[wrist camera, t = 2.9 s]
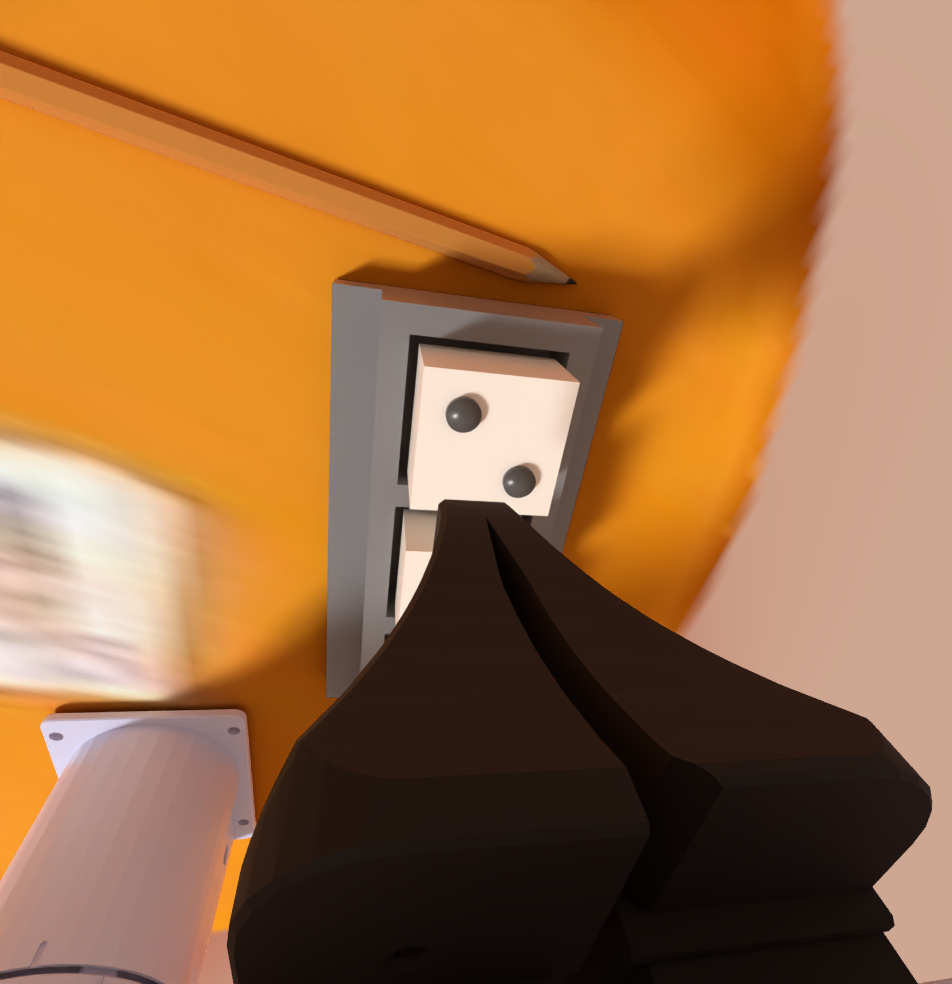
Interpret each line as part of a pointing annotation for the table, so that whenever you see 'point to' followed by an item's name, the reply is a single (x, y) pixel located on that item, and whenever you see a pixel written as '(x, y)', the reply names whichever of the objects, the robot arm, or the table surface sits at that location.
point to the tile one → (413, 554)
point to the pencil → (263, 169)
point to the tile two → (488, 428)
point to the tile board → (387, 428)
